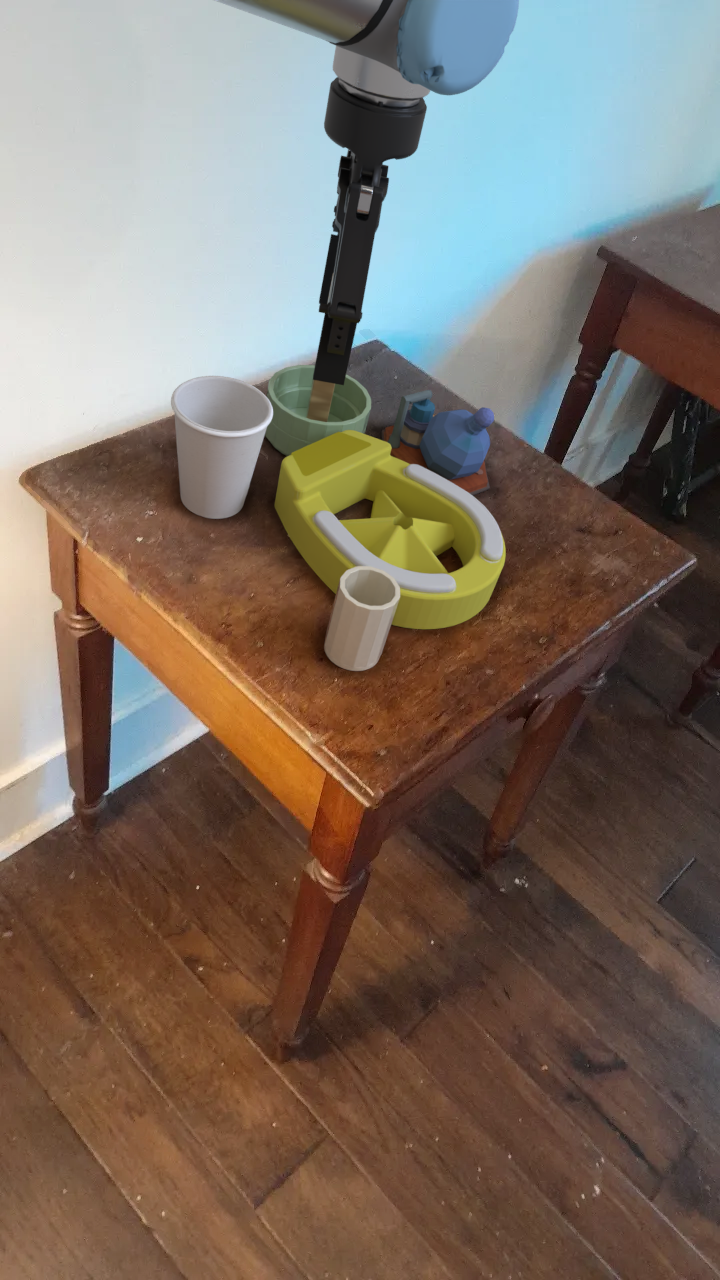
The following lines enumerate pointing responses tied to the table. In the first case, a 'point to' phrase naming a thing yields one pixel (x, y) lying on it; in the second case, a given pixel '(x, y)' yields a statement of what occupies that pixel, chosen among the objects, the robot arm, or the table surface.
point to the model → (442, 440)
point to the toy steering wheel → (390, 527)
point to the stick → (320, 396)
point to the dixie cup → (218, 442)
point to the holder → (361, 617)
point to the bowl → (291, 407)
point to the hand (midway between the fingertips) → (330, 340)
